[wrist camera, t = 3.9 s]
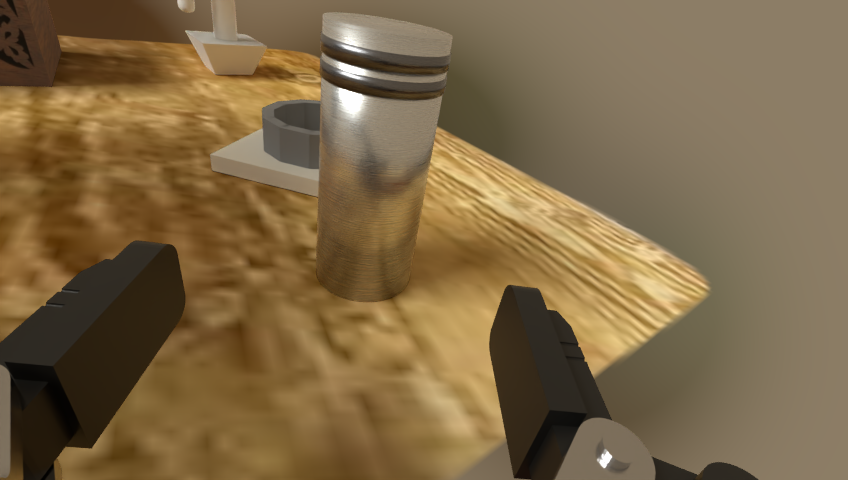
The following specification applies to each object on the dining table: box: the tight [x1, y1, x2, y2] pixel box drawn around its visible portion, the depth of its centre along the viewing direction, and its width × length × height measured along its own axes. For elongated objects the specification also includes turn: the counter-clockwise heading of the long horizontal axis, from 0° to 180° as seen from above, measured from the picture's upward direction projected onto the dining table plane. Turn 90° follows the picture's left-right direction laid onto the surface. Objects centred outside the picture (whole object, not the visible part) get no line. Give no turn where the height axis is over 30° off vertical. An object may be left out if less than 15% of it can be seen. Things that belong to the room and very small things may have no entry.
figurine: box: [177, 0, 267, 75], centre depth 48 cm, size 7×9×15 cm
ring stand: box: [210, 100, 321, 197], centre depth 32 cm, size 11×11×4 cm
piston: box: [316, 12, 453, 302], centre depth 19 cm, size 5×5×12 cm
